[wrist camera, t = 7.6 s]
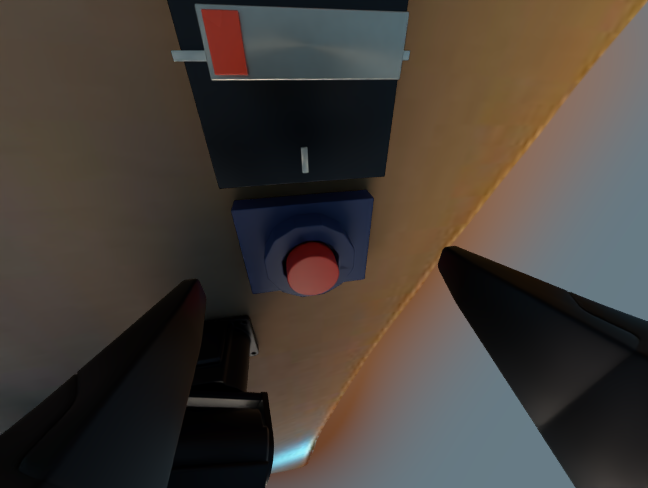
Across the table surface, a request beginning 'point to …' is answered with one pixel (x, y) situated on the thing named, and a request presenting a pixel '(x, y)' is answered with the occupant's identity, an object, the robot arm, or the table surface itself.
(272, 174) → the dial panel
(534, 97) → the table surface
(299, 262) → the red button
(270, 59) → the grey post red patch
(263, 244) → the button box
